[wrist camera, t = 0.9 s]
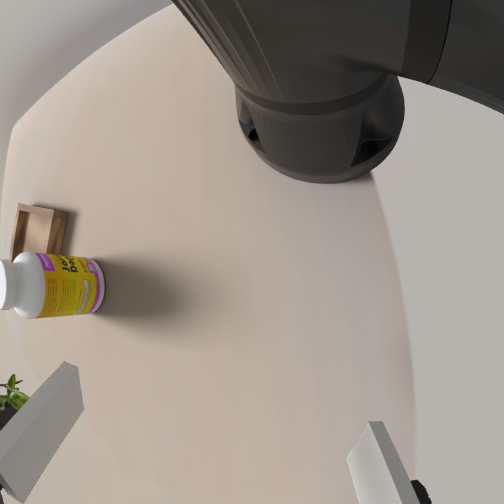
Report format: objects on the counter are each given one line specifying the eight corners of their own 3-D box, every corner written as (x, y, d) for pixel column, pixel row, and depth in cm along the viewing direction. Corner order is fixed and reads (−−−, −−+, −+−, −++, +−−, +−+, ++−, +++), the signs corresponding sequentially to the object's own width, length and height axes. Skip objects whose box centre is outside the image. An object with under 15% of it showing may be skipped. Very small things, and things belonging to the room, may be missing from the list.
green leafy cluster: (47, 408, 42) (-2, 413, 35) (31, 359, 41) (-21, 365, 33) (51, 441, 33) (-6, 447, 26) (29, 388, 32) (-31, 393, 25)
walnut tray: (30, 205, 38) (18, 203, 35) (68, 213, 34) (54, 209, 32) (19, 278, 38) (7, 278, 35) (54, 300, 34) (41, 301, 32)
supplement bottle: (113, 269, 31) (15, 263, 19) (100, 322, 31) (7, 334, 19) (79, 250, 33) (-8, 239, 21) (68, 299, 33) (-16, 301, 21)
